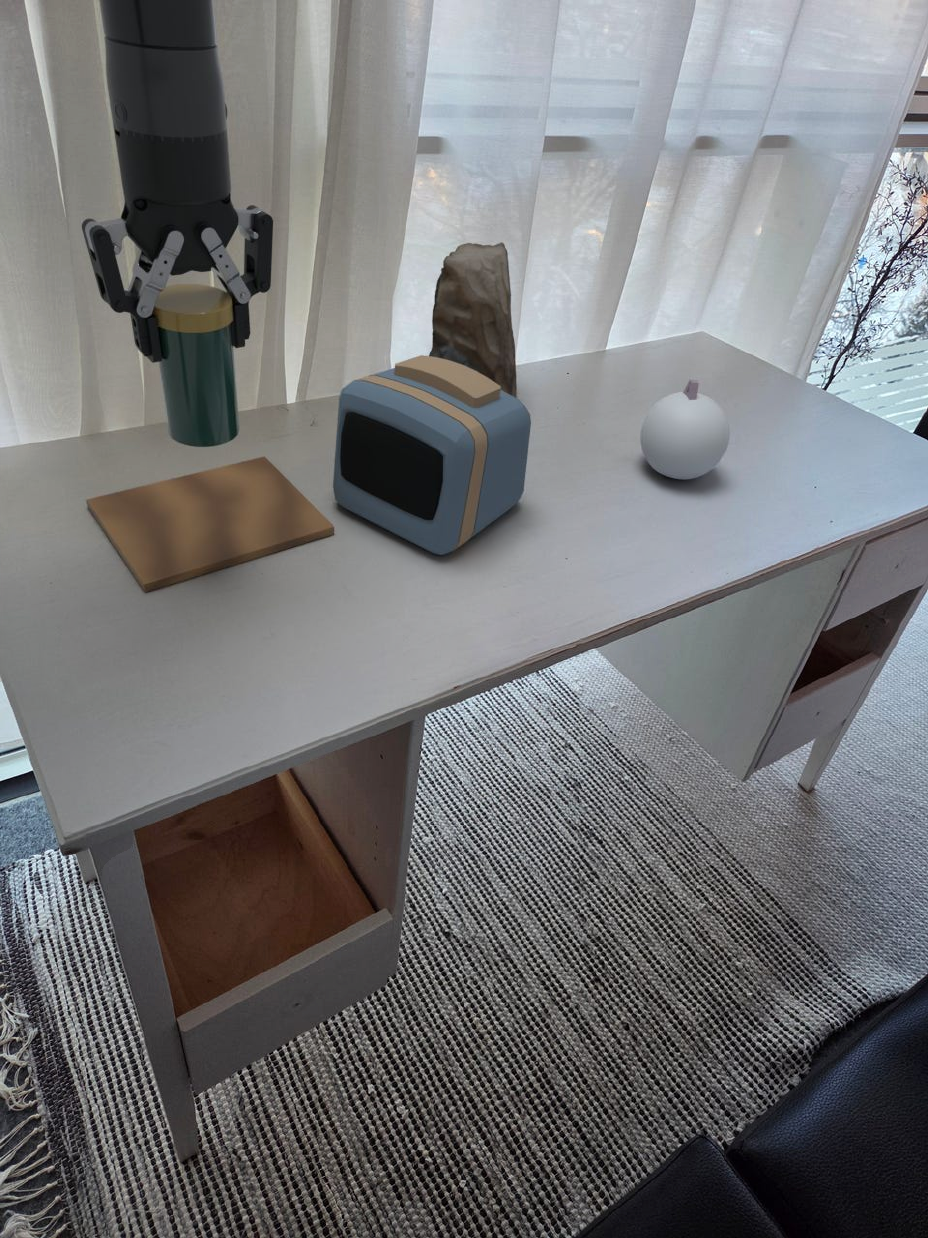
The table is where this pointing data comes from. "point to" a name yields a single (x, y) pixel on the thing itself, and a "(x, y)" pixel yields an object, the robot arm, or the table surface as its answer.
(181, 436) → the jar
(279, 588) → the table surface
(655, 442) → the ornament
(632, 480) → the table surface
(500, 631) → the table surface
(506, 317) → the jagged brown rock
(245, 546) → the cork mat
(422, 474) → the alarm clock
